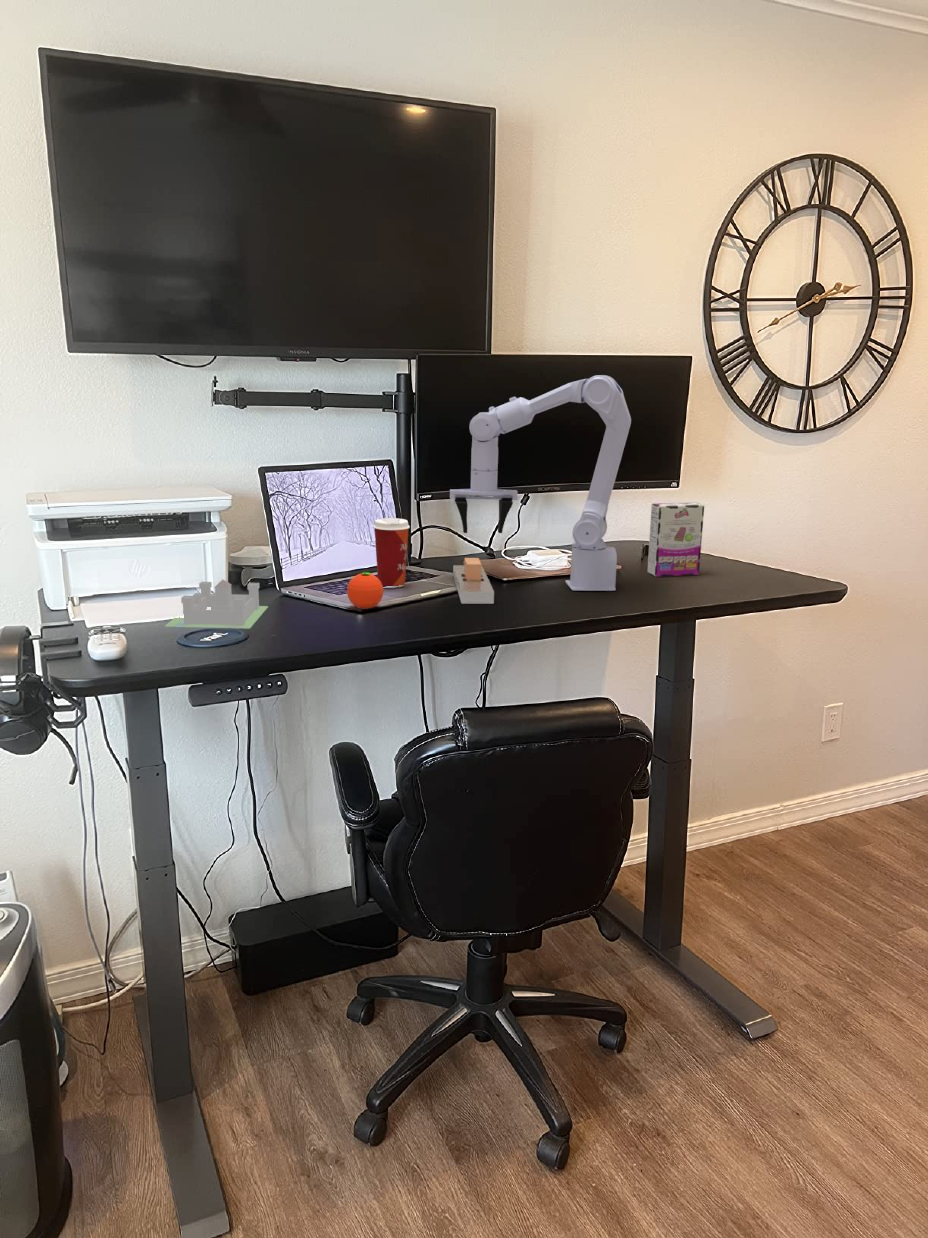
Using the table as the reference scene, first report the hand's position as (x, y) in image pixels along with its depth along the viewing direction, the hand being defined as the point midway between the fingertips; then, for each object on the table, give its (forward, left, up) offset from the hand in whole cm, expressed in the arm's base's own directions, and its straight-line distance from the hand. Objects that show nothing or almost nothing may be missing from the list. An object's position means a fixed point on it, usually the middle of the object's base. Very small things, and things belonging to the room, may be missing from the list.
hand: (482, 532), depth 196 cm
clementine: (+25, +25, -11) cm, 37 cm away
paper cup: (+20, +7, -11) cm, 24 cm away
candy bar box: (-45, -5, -11) cm, 47 cm away
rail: (+3, +10, -10) cm, 15 cm away
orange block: (+3, +10, -10) cm, 14 cm away
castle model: (+52, +31, -11) cm, 61 cm away
